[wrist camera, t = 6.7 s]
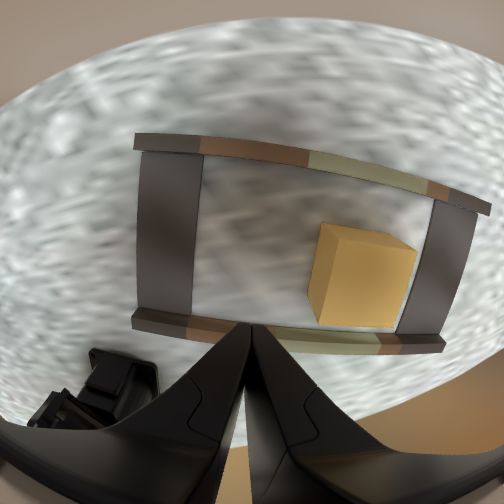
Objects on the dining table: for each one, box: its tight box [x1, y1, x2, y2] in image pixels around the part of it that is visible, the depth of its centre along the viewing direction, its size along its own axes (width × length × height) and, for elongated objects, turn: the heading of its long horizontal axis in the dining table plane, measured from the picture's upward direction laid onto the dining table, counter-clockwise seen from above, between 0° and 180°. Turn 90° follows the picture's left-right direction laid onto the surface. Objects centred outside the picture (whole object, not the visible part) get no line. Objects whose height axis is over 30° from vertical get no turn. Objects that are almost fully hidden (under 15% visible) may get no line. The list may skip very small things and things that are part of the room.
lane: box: [131, 133, 492, 355], centre depth 17 cm, size 13×25×2 cm, turn 82°
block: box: [307, 223, 418, 328], centre depth 16 cm, size 5×5×4 cm
